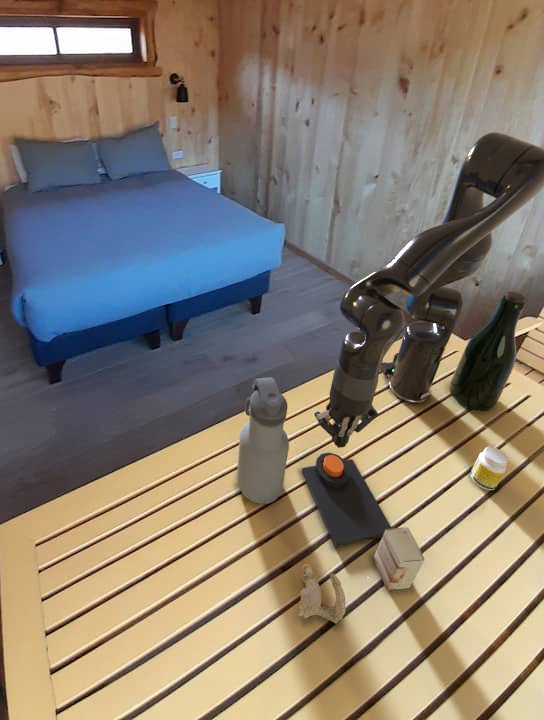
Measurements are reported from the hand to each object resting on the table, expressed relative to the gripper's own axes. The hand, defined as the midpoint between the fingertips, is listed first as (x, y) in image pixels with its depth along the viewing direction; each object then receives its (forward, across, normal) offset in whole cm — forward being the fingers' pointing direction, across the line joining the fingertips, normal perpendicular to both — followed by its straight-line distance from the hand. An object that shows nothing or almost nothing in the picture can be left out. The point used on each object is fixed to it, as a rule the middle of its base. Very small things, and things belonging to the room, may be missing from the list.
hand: (338, 443), depth 83 cm
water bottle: (+11, +16, -2) cm, 20 cm away
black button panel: (+11, 0, +6) cm, 12 cm away
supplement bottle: (+11, -32, +6) cm, 35 cm away
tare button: (+8, 0, 0) cm, 8 cm away
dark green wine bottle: (+11, -47, -14) cm, 50 cm away
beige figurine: (+11, +14, +20) cm, 27 cm away
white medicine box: (+11, -2, +18) cm, 22 cm away
